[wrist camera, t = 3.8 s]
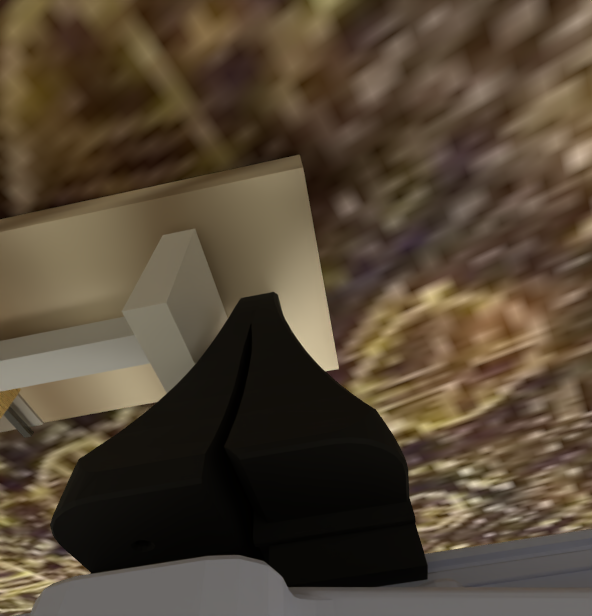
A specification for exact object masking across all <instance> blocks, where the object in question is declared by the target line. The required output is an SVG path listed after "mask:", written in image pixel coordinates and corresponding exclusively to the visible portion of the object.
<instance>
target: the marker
mask: <svg viewBox="0 0 592 616" xmlns="http://www.w3.org/2000/svg"><path fill="white" fill-rule="evenodd" d="M20 391H21V389H20V388H17V389H11V390H6V391H1V392H0V419H1V417H2V416H3V415H4V416H5V417H6V418H7V420H8V421H9V422H10V423H11V424H12V425H13V426H14V427H15V428H16V429H17V430H18V431H19V432H20V433H21V434H22V435H23V437H24V438H25V437H31V436H32V434H33V433H34V432H33V431H32V430H31V429H30V428H29V426H28V425H27V424H26V423H25V422H24V421H23V420H22V419H21V418H20V417H19V415H18V414H17V413H16V412H15V411H14V410H13V409H12V408H11V407H10V405H11V403H12V402H13V400H14V399H15V398H16V396H17V395H18V393H19V392H20Z"/></svg>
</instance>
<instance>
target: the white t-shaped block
mask: <svg viewBox="0 0 592 616" xmlns="http://www.w3.org/2000/svg"><path fill="white" fill-rule="evenodd" d="M122 313H123V315H124V317H120V318H114V319H109V320H104V321H99V322H94V323H89V324H84V325H79V326H74V327H69V328H64V329H59V330H53V331H48V332H43V333H38V334H33V335H28V336H23V337H18V338H13V339H8V340H3V341H0V392H1V391H6V390H11V389H17V388H22V387H27V386H33V385H38V384H43V383H48V382H54V381H59V380H64V379H70V378H75V377H80V376H86V375H91V374H96V373H102V372H107V371H112V370H117V369H123V368H128V367H133V366H139V365H144V364H149V363H150V364H151V366H152V368H153V369H154V371H155V373H156V375H157V377H158V378H159V380H160V382H161V384H162V386H163V388H164V389H165V391H166V393H168V392H169V391H170V390H171V389H172V388H173V387H174V386H175V385H176V384H177V383H178V382H179V381H180V380H181V379H182V378H183V377H184V376H185V375H186V374H187V373H188V372H189V371H190V370H191V369H192V367H193V366H194V365H195V364H196V363H197V362H198V360H199V359H200V358H201V357H202V355H203V354H204V353H205V351H206V350H207V349H208V347H209V346H210V345H211V343H212V342H213V340H214V339H215V338H216V336H217V335H218V333H219V332H220V330H221V329H222V327H223V326H224V324H225V322H226V321H227V319H228V318H227V315H226V312H225V310H224V307H223V304H222V301H221V299H220V296H219V293H218V290H217V288H216V285H215V282H214V279H213V277H212V274H211V271H210V268H209V266H208V263H207V260H206V257H205V255H204V252H203V249H202V246H201V244H200V241H199V238H198V235H197V233H196V230H195V229H190V230H185V231H180V232H175V233H171V234H166V235H163V236H162V237H161V239H160V241H159V243H158V245H157V247H156V249H155V250H154V252H153V254H152V256H151V258H150V260H149V262H148V263H147V265H146V267H145V269H144V271H143V273H142V275H141V276H140V278H139V280H138V282H137V284H136V286H135V288H134V289H133V291H132V293H131V295H130V297H129V299H128V301H127V302H126V304H125V306H124V308H123V310H122Z"/></svg>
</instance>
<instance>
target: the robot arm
mask: <svg viewBox="0 0 592 616" xmlns="http://www.w3.org/2000/svg"><path fill="white" fill-rule="evenodd" d="M50 526H51V530H52V534H53V536H54V538H55V539H56V540H57V541H58V543H59V544H60V545H61V546H62V547H63V548H64V549H65V550H66V551H67V552H68V553H70V554H71V555H72V556H73V557H74V558H75V559H76V560H78V561H79V562H80V563H81V564H82V565H83V566H84V567H85V568H87V569H88V570H89V571H90V572H91V574H88V575H81V576H75V577H72V578H69V579H66V580H63V581H59V582H56V583H53V584H52V585H50V586H48V587H47V588H45V589H44V590H43V592H42V593H41V594H40V596H39V597H38V598H37V600H36V601H35V604H34V606H33V608H32V611H31V613H28V614H21V615H15V616H592V529H587V530H581V531H574V532H568V533H561V534H554V535H548V536H541V537H534V538H528V539H521V540H514V541H508V542H501V543H494V544H488V545H481V546H474V547H468V548H461V549H454V550H448V551H441V552H434V553H428V554H424V551H423V548H422V544H421V541H420V538H419V535H418V531H417V528H416V525H415V515H414V512H413V508H412V505H411V502H410V499H409V480H408V467H407V463H406V460H405V457H404V455H403V453H402V451H401V449H400V447H399V445H398V443H397V441H396V439H395V438H394V436H393V434H392V433H391V431H390V430H389V428H388V427H387V425H386V423H385V422H384V421H383V419H382V418H381V416H380V415H379V414H378V412H377V411H376V409H374V408H372V407H371V406H369V405H368V404H366V403H364V402H363V401H362V400H360V399H359V398H357V397H356V396H354V395H353V394H352V393H350V392H349V391H348V390H346V389H345V388H344V387H342V386H341V385H340V384H339V383H338V382H337V381H335V380H334V379H333V378H332V377H331V376H330V375H329V374H328V373H327V372H325V371H324V370H323V369H322V368H321V367H320V366H319V365H318V364H317V363H316V361H315V360H314V359H313V358H312V357H311V356H310V355H309V354H308V352H307V351H306V350H305V349H304V347H303V346H302V345H301V343H300V342H299V341H298V339H297V338H296V336H295V335H294V333H293V332H292V330H291V328H290V327H289V325H288V323H287V321H286V320H285V318H284V316H283V312H282V308H281V304H280V301H279V297H278V294H277V293H275V292H270V293H264V294H259V295H254V296H249V297H244V298H241V299H240V300H239V301H238V303H237V304H236V306H235V308H234V309H233V311H232V313H231V314H230V316H229V318H228V319H227V321H226V322H225V324H224V326H223V327H222V329H221V330H220V332H219V333H218V335H217V336H216V338H215V339H214V340H213V342H212V343H211V345H210V346H209V347H208V349H207V350H206V351H205V353H204V354H203V355H202V357H201V358H200V359H199V360H198V362H197V363H196V364H195V365H194V366H193V367H192V369H191V370H190V371H189V372H188V373H187V374H186V375H185V376H184V377H183V378H182V379H181V380H180V381H179V382H178V383H177V384H176V385H175V386H174V387H173V388H172V389H171V390H170V391H169V392H168V393H167V394H166V395H165V396H164V397H162V398H161V399H160V400H159V401H158V402H157V403H156V404H155V405H154V406H152V407H151V408H150V409H149V410H148V411H146V412H145V413H144V414H143V415H142V416H140V417H139V418H138V419H136V420H135V421H134V422H133V423H131V424H130V425H129V426H127V427H126V428H125V429H123V430H122V431H120V432H119V433H118V434H116V435H115V436H113V437H112V438H110V439H109V440H107V441H106V442H104V443H103V444H101V445H100V446H98V447H97V448H95V449H94V450H92V451H91V452H89V453H88V454H86V455H85V456H83V457H81V458H80V459H79V460H78V462H77V464H76V466H75V468H74V470H73V473H72V475H71V477H70V479H69V481H68V483H67V486H66V488H65V490H64V492H63V495H62V497H61V499H60V501H59V503H58V506H57V508H56V510H55V512H54V515H53V517H52V521H51V524H50Z"/></svg>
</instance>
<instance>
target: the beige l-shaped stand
mask: <svg viewBox="0 0 592 616" xmlns="http://www.w3.org/2000/svg"><path fill="white" fill-rule="evenodd" d="M190 229H195V230H196V233H197V235H198V238H199V241H200V244H201V246H202V249H203V252H204V255H205V257H206V260H207V263H208V266H209V268H210V271H211V274H212V277H213V279H214V282H215V285H216V288H217V290H218V293H219V296H220V299H221V301H222V304H223V307H224V310H225V312H226V315H227V318H229V316H230V314H231V313H232V311H233V309H234V308H235V306H236V304H237V303H238V301H239V300H240V299H241V298H244V297H249V296H254V295H259V294H264V293H270V292H275V293H277V294H278V297H279V301H280V304H281V308H282V312H283V316H284V318H285V320H286V321H287V323H288V325H289V327H290V328H291V330H292V332H293V333H294V335H295V336H296V338H297V339H298V341H299V342H300V343H301V345H302V346H303V347H304V349H305V350H306V351H307V352H308V354H309V355H310V356H311V357H312V358H313V359H314V360H315V361H316V363H317V364H318V365H319V366H320V367H321V368H322V369H323V370H324V371H330V370H335V369H339V367H338V361H337V356H336V350H335V344H334V339H333V333H332V328H331V322H330V316H329V311H328V305H327V299H326V294H325V288H324V282H323V277H322V271H321V265H320V260H319V254H318V249H317V243H316V237H315V232H314V226H313V220H312V215H311V209H310V203H309V198H308V192H307V186H306V181H305V175H304V170H303V165H302V162H301V158H300V155H296V156H291V157H286V158H282V159H277V160H272V161H268V162H263V163H259V164H254V165H249V166H245V167H240V168H235V169H231V170H226V171H222V172H217V173H212V174H208V175H203V176H198V177H194V178H189V179H185V180H180V181H175V182H171V183H166V184H161V185H157V186H152V187H148V188H143V189H138V190H134V191H129V192H124V193H120V194H115V195H111V196H106V197H101V198H97V199H92V200H87V201H83V202H78V203H73V204H69V205H64V206H60V207H55V208H50V209H46V210H41V211H36V212H32V213H27V214H23V215H18V216H13V217H9V218H4V219H0V341H3V340H8V339H13V338H18V337H23V336H28V335H33V334H38V333H43V332H48V331H53V330H59V329H64V328H69V327H74V326H79V325H84V324H89V323H94V322H99V321H104V320H109V319H114V318H120V317H124V315H123V313H122V310H123V308H124V306H125V304H126V302H127V301H128V299H129V297H130V295H131V293H132V291H133V289H134V288H135V286H136V284H137V282H138V280H139V278H140V276H141V275H142V273H143V271H144V269H145V267H146V265H147V263H148V262H149V260H150V258H151V256H152V254H153V252H154V250H155V249H156V247H157V245H158V243H159V241H160V239H161V237H162V236H163V235H166V234H171V233H175V232H180V231H185V230H190ZM20 389H21V391H20V392H19V393H18V395H17V396H16V398H15V399H14V400H13V402H12V403H11V405H10V407H11V408H12V409H13V410H14V411H15V412H16V413H17V414H18V415H19V417H20V418H21V419H22V420H23V421H24V422H25V423H26V424H27V425H28V426H29V427H32V426H37V425H43V424H44V422H50V421H55V420H61V419H66V418H72V417H77V416H83V415H88V414H94V413H99V412H105V411H110V410H116V409H121V408H127V407H132V406H138V405H143V404H149V403H154V402H158V401H159V400H160V399H161V398H162V397H164V396H165V395H166V394H167V393H166V391H165V389H164V388H163V386H162V384H161V382H160V380H159V378H158V377H157V375H156V373H155V371H154V369H153V368H152V366H151V364H150V363H149V364H144V365H139V366H133V367H128V368H123V369H117V370H112V371H107V372H102V373H96V374H91V375H86V376H80V377H75V378H70V379H64V380H59V381H54V382H48V383H43V384H38V385H33V386H27V387H22V388H20ZM15 429H16V428H15V427H14V426H13V425H12V424H11V423H10V422H9V421H8V420H7V418H6V417H5V416H4V415H3V416H2V417H1V419H0V432H4V431H10V430H15Z"/></svg>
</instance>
